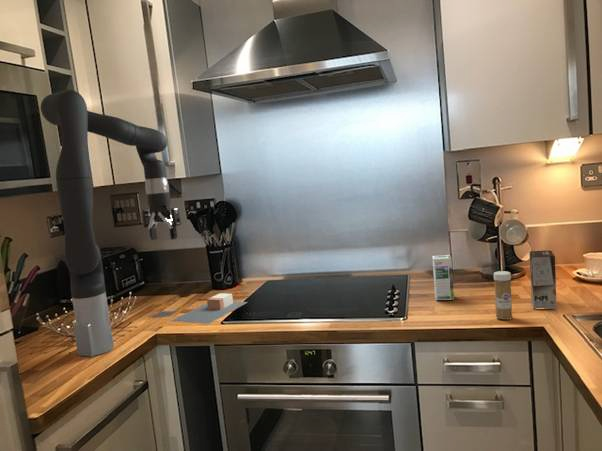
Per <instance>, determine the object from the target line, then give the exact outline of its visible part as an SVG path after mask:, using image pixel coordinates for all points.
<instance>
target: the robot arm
mask: <svg viewBox="0 0 602 451" xmlns="http://www.w3.org/2000/svg"><path fill="white" fill-rule="evenodd" d="M40 112H41V115H42V117H43V118H44V119H45V120H46V121H47V122H48V123H50V124H51V125H54V126H59V127H60V128H61V135H62V136H61V137H62V141H61V142H62V143H61V144H62V145H61V148H60V153H59V156H58V160H57V164H56V169H55V181H56V191H57V197H58V203H59V208H60V213H61V218H62V223H63V229H64V263H65V265H66V267H67V268H68V272H69V278H70V280H69V281H70V293H71V301H72V306H73V314H74V319H75V323H73V325H72V327H73V332H74V339H75V344H76V346H75V347H76V351H77V356H81V357H91V358H92V357H96V356H100V355H103V354H106V353H109V352H110V351H112V350H113V349H114V346H115V345H114V340H113V339H114V338H113V334H112V333H113V332H112V325H111V320H110V318H111V317H110V312H109V306H108V300H107V298H108V297H107V292H106V283H105V282H106V281H105V275H104V267H103V260H102V254H101V250H100V247H99V246H98V244H97V243H96V239H95V234H94V229H93V228H94V227H93V212H94V211H93V210H94V189H93V181H92V180H93V179H92V172H91V164H90V154H89V153H90V152H89V142H88V141H89V138H88V133H90V134H95V135H98V136H101V137H105V138H107V139H110V140H112V141H115V142H118V143H120V144H123V145H125V146H130V147H131V146H132V147H135V148H136V152H137V154H138V157H139V159H140V163H141V164H142V166H143V173H144V181H145V182H144V183H145V184H144V185H145V193H146V194H145V195H146V202H147V206H148V207H149V209H144V210H142V213H141V214H142V221H143V227H144V228H147V229H148V230H149V237H150V239H151V240H152V241H156V240H157V239H158V233H157V225H158V223H164V224H166V225H167V227H169V235H170V240H176V239H177V238H178V233H177V232H178V231H177V227H179V226H181V225H182V222H181V216H180V211H179V207H173V208H171V203H172V202H171V195H170V193H171V192H170V186H169V181H168V177H167V176H168V175H167V171H166V170H167V169H166V164H165V162H164V161H163V160H161V159H158V158H157V155H156V153H157V154H158V153H161V152H163V151H164V150H165V149H166V148H167V146H168V139H167V137H166V136H165V135H164V133H163V132H162V131H160V130H158V129H154V128H151V127H147V126H141V125H137V124H134V123H133V122H130V121H127V120H125V119H122V118H121V117H120V118H119V117H115V116H112V115H107V114H103V113H102V114H101V113H96V112H93V111H89V110H88V106H87V103H86V101H85V98H84V96H82V94H81V93H79V92H78V91H76V90H74V89H67V90H61V91H58V92H53V93H51V94H48V95H46V96H45V97H44V98H43V99H42V101H41V102H40Z"/></svg>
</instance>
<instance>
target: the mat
mask: <svg viewBox="0 0 602 451" xmlns="http://www.w3.org/2000/svg"><path fill="white" fill-rule="evenodd" d="M247 303H248V301H233V304H231V305H229V306H227V307H225V308H223V309H221V310H215V309H208V304H207V302H206V303H204V304H202V305H201V306H198V307H196V308H194V309H192V310H190V311H188V312H186V313H184V314H182V315H180V316H179V317H175V318H173V319H172V320H171V322H179V323H180V322H182V323H194V324H207V325H208V324H210V323H213V322H215V321H217V320H218V319H220V318H222V317H224V316H225V315H228V314H229V313H231V312H234V311H235V310H237V309H239V308H240V307H242V306H244V305H246V304H247Z"/></svg>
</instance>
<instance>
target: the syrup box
mask: <svg viewBox="0 0 602 451" xmlns="http://www.w3.org/2000/svg"><path fill="white" fill-rule="evenodd" d="M431 259H432V270H433V284H434V285H433V286H434V287H433V288H434V297H435V301H436V300H454V301H455V295H454V278H453V264H452V256H451V255H450V254H446V255H445V254H444V255H432V257H431Z"/></svg>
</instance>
